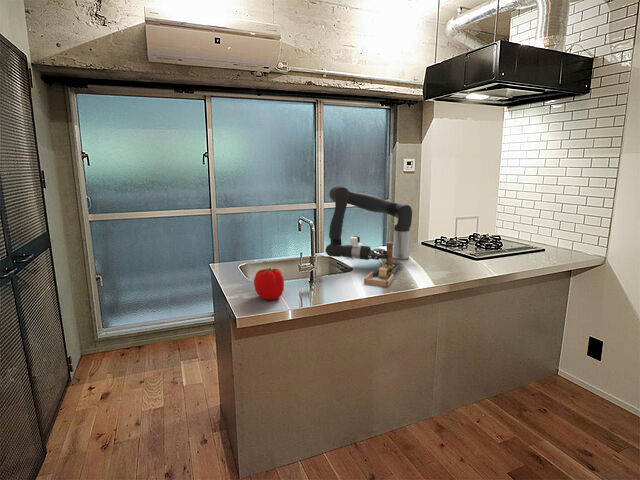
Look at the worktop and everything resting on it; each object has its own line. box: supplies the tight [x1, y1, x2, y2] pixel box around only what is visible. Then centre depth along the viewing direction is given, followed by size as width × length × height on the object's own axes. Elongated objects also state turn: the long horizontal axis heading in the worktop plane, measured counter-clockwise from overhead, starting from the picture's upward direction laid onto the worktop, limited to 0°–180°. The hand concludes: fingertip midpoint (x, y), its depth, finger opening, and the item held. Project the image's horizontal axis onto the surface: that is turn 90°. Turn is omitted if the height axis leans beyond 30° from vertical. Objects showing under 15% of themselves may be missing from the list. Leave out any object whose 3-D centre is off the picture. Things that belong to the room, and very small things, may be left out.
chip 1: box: [378, 267, 389, 279], centre depth 198 cm, size 4×4×4 cm
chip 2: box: [382, 265, 391, 275], centre depth 202 cm, size 4×4×4 cm
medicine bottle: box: [347, 235, 363, 246], centre depth 243 cm, size 7×7×12 cm
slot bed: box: [372, 261, 404, 280], centre depth 206 cm, size 22×13×3 cm, turn 157°
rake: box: [385, 241, 395, 272], centre depth 208 cm, size 7×5×15 cm
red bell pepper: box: [253, 267, 285, 301], centre depth 170 cm, size 16×14×14 cm
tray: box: [363, 271, 395, 288], centre depth 190 cm, size 13×12×3 cm
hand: (390, 255), depth 208 cm, fingers open, 8 cm apart
